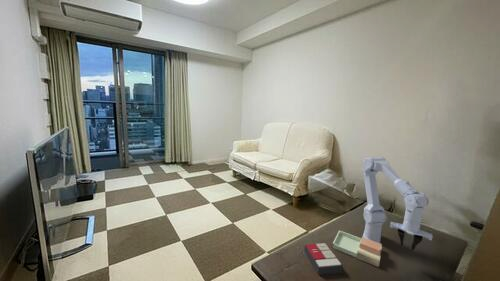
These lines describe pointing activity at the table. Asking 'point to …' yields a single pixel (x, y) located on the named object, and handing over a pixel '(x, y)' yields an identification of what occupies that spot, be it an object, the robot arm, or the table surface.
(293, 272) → the table surface
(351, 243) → the box
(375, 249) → the tile
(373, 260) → the bench plate
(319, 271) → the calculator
